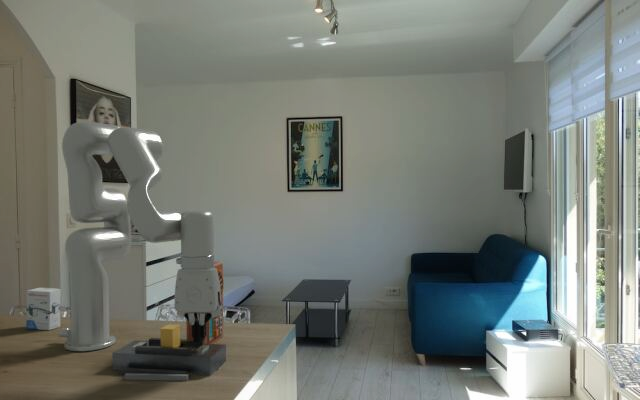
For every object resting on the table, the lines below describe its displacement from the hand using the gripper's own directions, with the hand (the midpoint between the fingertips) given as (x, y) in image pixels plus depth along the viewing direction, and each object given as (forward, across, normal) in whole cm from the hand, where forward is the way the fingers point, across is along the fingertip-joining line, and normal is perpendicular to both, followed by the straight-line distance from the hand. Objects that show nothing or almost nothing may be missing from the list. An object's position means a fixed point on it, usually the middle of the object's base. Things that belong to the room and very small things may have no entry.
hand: (199, 340), depth 120 cm
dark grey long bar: (+6, -8, -7) cm, 13 cm away
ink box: (+6, -61, +26) cm, 67 cm away
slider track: (+6, -7, 0) cm, 10 cm away
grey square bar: (+6, -6, -9) cm, 13 cm away
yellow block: (+2, -7, 0) cm, 8 cm away
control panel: (+6, -6, +19) cm, 21 cm away
